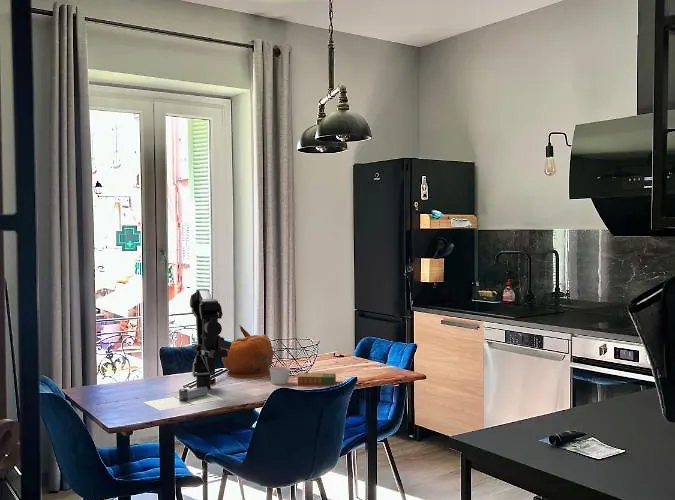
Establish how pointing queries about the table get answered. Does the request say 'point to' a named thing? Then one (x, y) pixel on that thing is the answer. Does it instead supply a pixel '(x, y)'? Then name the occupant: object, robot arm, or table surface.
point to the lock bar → (192, 393)
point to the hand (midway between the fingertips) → (210, 372)
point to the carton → (316, 379)
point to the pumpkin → (249, 356)
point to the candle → (279, 375)
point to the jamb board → (180, 402)
